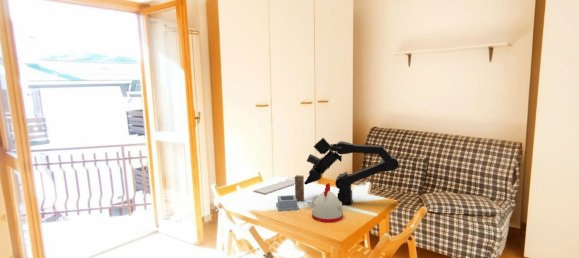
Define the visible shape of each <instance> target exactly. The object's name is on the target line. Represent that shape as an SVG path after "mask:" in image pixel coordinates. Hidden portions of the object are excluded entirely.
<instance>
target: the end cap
mask: <svg viewBox="0 0 579 258" xmlns="http://www.w3.org/2000/svg"><path fill="white" fill-rule="evenodd" d="M275 204H276V208H277V211H278V212H287V211H288V212H289V211H299V210H300V207H299V205H298V201H297V199H296V197H295V194H289V195H278V196H277V202H275Z"/></svg>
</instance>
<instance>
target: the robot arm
mask: <svg viewBox="0 0 579 258" xmlns="http://www.w3.org/2000/svg"><path fill="white" fill-rule="evenodd" d="M313 148H314V149H315V150H316V151H317V152H318V153H319V154H320V155H324V156H322V157H318V156H316V155H313V154H311V153H310V154H309V155H308V157H307V158H306V159H307V160H306V162H307V163H310V164H312V167H311V169H310V170H309V171H308V176H307V178H306V180H305V181H304V186H305V185H308V184H311V183H315V182H318V181H320V180H321V178H322V175H323V174H325V172H326V171H327V170H329V169H330V167H331V166H332V165H333V164H335V163H336V161H337V160H338V161H339V162H342V160H343V159H342V157H343V155H349V154H354V153H355V154H369V155H378V156H379V157H380V158H381V159H382V160H380V161H379V162H378V163H376V164H374V165H371V166H368V167H366V168H363V169H360V170H358V171H356V172H355V171H354V172H353V173H348V172H347V171H345V172H343V173H339V175H337V176H336V179H335V183H334V185H335V187H336V189H338V193H337V198H338V199H339V201H340V202H342V205H347V206H352V203H354V200H353V190H352V185H353V183H355V182H358V181H361V180H363V179H365V178H368V177H371V176H373V175H376V174H378V173H382V172H393V171H395V170H398V168H399V166H400V163H399V161H398V159H397V158H396V156H393V155H390V153H389V152H388V151H387V150H386V149H385V148H384V146H382V145H373V144H371V145H370V144H354V143H351V142H349V141H348V142H346V141H343V140H342V141H341V140H340V141H338V142H337V143H333V144H330V143H329V142H328V141H327V140H326V139H325V138H324V137H322V138H321V139H320V140H318V141H317V142H316V143H315V144H314V146H313Z"/></svg>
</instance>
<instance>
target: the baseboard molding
mask: <svg viewBox="0 0 579 258" xmlns="http://www.w3.org/2000/svg"><path fill="white" fill-rule="evenodd" d="M294 184H295V177H292V178H290V177H288V178H287V179H285V180H283V181H279V182H276V183H271V184H269V185H267V186H263V187H260V188H258V189H253V190H252V192H253V193H257V194H260V195H269V194H272V193H273V192H274V193H275V192H276V191H277V190H278V191H280V190H283V189H286V188H289V187H291V186H295V185H294Z"/></svg>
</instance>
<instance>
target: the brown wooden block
mask: <svg viewBox="0 0 579 258" xmlns="http://www.w3.org/2000/svg"><path fill="white" fill-rule="evenodd" d="M304 179H305V178H304V175H301V174H300V175H299V174H297V175H295V176H294V180H295V185H294V195H295V197H296V199H297V202H299V201H301V203H304V201H305V187H304V186H305V184H304V182H305V181H304Z"/></svg>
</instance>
